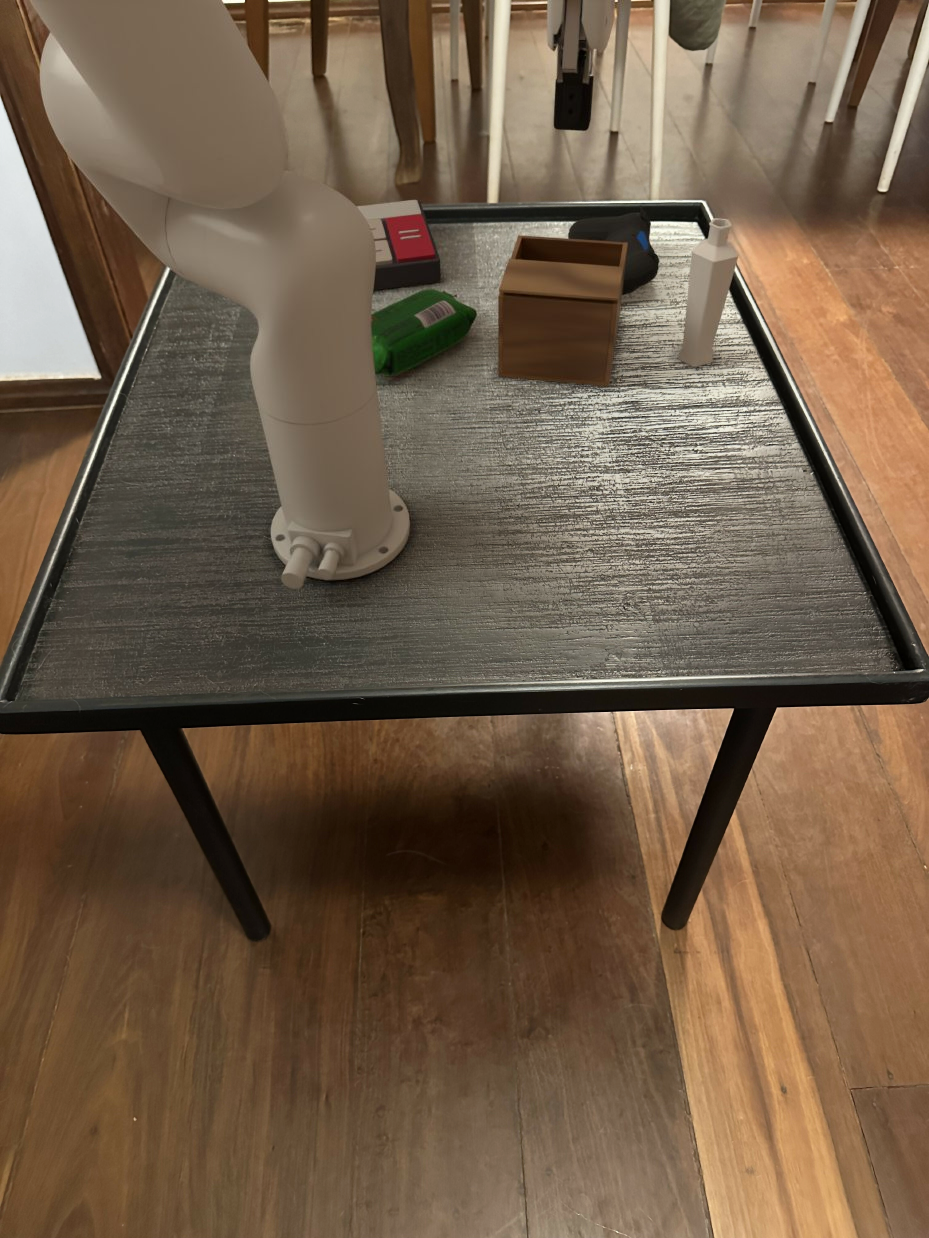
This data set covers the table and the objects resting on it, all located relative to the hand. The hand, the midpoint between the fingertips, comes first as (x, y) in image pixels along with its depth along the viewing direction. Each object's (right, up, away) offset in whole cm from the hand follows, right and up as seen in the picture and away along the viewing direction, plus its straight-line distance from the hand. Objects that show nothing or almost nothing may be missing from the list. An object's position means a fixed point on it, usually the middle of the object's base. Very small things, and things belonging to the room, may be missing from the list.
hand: (572, 126), depth 83 cm
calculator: (-19, +1, +34) cm, 39 cm away
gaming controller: (+8, -3, +30) cm, 31 cm away
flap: (0, -11, +10) cm, 14 cm away
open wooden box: (+1, -15, +19) cm, 24 cm away
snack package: (-15, -15, +20) cm, 29 cm away
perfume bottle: (+16, -16, +17) cm, 29 cm away
